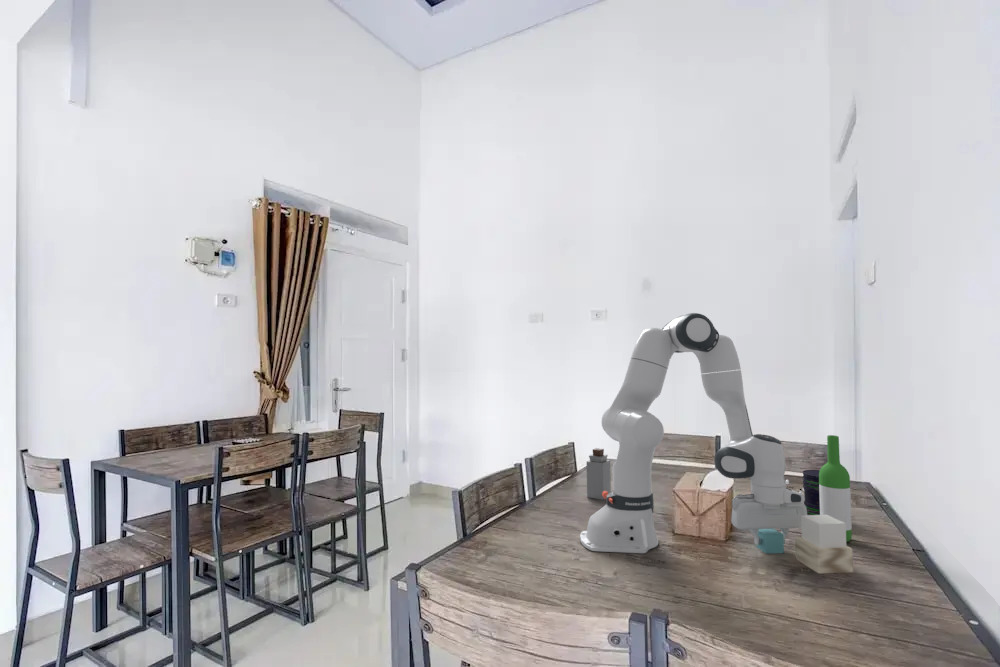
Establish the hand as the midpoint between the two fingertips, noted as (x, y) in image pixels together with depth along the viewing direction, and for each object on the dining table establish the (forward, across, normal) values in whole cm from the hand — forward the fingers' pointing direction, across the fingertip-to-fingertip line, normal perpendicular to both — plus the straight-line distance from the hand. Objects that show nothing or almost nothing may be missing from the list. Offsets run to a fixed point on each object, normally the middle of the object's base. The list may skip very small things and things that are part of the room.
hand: (769, 543), depth 145 cm
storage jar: (+2, +31, +24) cm, 39 cm away
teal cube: (+2, 0, 0) cm, 2 cm away
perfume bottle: (+2, -35, +56) cm, 66 cm away
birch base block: (+2, +8, -11) cm, 14 cm away
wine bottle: (+2, +24, +7) cm, 25 cm away
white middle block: (-4, +8, -11) cm, 14 cm away
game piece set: (+2, +37, +58) cm, 69 cm away
